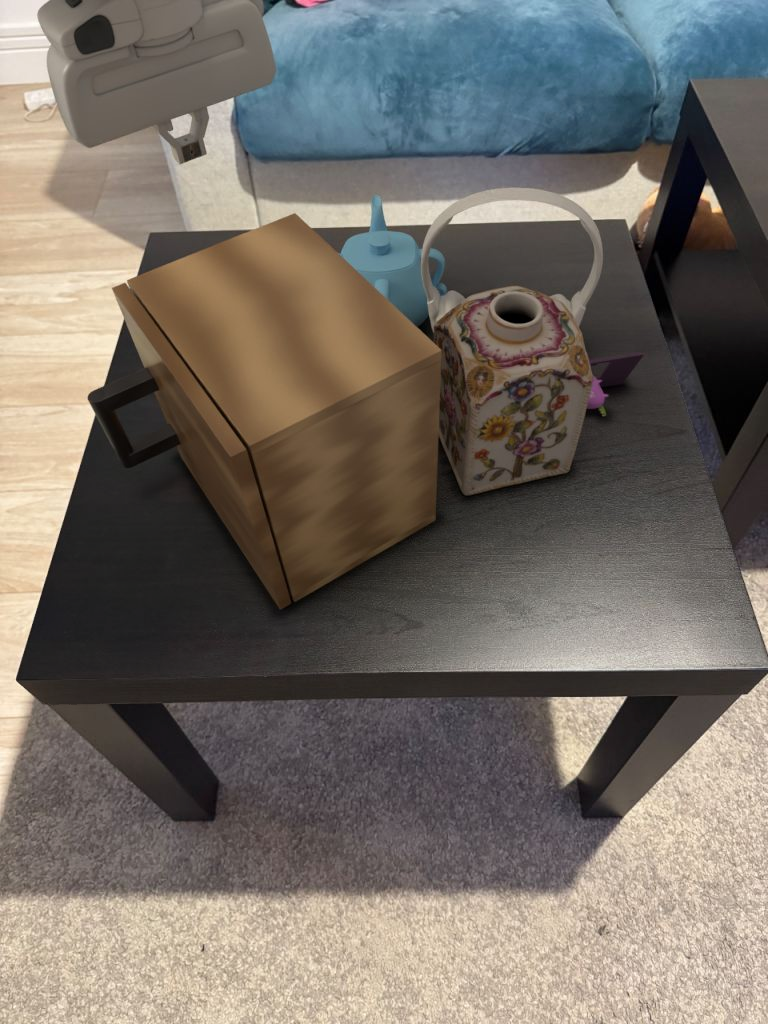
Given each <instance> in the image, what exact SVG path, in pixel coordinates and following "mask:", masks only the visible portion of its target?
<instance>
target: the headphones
mask: <svg viewBox="0 0 768 1024" xmlns="http://www.w3.org/2000/svg"><path fill="white" fill-rule="evenodd" d="M504 201H526V202H528V201H529V202H537V203H542V204H547V205H551V206H553V207H558V208H560V209H562V210H564V211H567V212H569V213H570V214H572V215H574V216H575V217H577V218H578V220H579V222H580V224H581V226H582V228H583V229H584V230H585V231H586V232H587V234H588V236H589V238H590V240H591V242H592V246H593V251H594V256H593V264H592V267H591V270H590V273H589V275H588V277H587V280H586V282H585V284H584V286H583V287H582V289H581V290H578V291H577V292H576V293H574V295H573V296H572V297H571V299H570V300H569V299H567V297H565V296H564V295H563V294H561V293H556V294H552V295H550V296H549V297H551V298H553V299H556V300H558V301H561V302H562V303H564V305H565V306H566V307H567V309H568V310H569V311H570V312H571V314H572V315H573V317H574V319H575V321H576V322H577V324H578V327H579V328H580V326H581V324H582V321H583V318H584V316H585V312H586V310H587V304H588V303H589V301H590V299H591V297H592V296H593V294H594V292H595V290H596V288H597V286H598V284H599V281H600V277H601V274H602V270H603V265H604V264H603V263H604V250H603V243H602V238H601V235H600V231H599V228H598V227H597V224H596V222H595V221H594V219H593V217H592V216H591V215H590V214H589V212H587V211H586V210H585V209H584V208H583V207H582V206H581V205H580V204H578V203H577V202H575V201H573V200H572V199H570V198H568V197H566V196H564V195H561V194H559V193H556V192H554V191H553V192H552V191H549V190H544V189H540V188H532V187H500V188H491V189H486V190H482V191H479V192H475V193H473V194H470V195H467V196H464V197H463V198H461V199H458V200H457V201H456V202H453V203H452V204H450V205H448V207H447V208H445V209H444V210H443V211H442V212H441V213H440V214H439V215H438V216H437V217H436V218H435V220H433V222H432V223H431V225H430V227H429V228H428V231H427V232H426V235H425V238H424V240H423V243H422V248H421V249H422V255H421V275H422V282H423V286H424V289H425V293H426V296H427V305H428V312H429V315H428V317H429V320H430V321H429V322H430V326H431V330H432V333H433V334H434V325H435V323H436V322H437V321H438V320H440V319H441V318H442V317H443V316H444V315H445V314H446V313H448V312H449V311H450V310H451V309H453V308H455V307H456V306H457V305H459V304H460V303H462V302H463V301H464V300H465V299H466V298H465V297H464V296H463V294H461V293H460V292H458V291H456V290H449V291H447V292H446V295H443V296H441V297H440V294H439V292H438V291H439V289H436V287H435V286H433V285H432V278H431V275H430V269H429V259H430V258H429V253H430V249H431V248H433V244H434V242H435V240H436V239H437V237H438V236H439V235H440V233H441V232H442V231H443V230H444V229H445V228H446V227H447V226H448V225H449V224H450V223H451V221H452V220H453V218H454V216H456V215H458V214H459V213H462V212H464V211H466V210H468V209H470V208H473V207H477V206H481V205H484V204H489V203H495V202H504Z"/></svg>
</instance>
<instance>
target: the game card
mask: <svg viewBox="0 0 768 1024" xmlns="http://www.w3.org/2000/svg"><path fill="white" fill-rule="evenodd" d="M644 356H645V355H644V351H638V352H632V353H631V352H630V353H624V354H618V355H613V356H606V357H599V358H593V359H590V364H591V367H594V366H597V365H598V364H605V363H608V364H607V365H606V367H605V368H604V369H603V371H602V373H601V374H600V375H599V377H598V379H597V377H596V376H595V375H593V378H594V381H593V386H592V389H591V393H590V396H589V400H588V405H587V408H586V410H587V409H588V410H595V409H598V411H599V414H601V417H606V416H607V413H606V412H607V411H606V409H605V407H604V406H603V405H604V403H605V401H606V398H608V397H609V394H608V393H604V391H603V389H602V388H607V387H611V386H618V385H622V384H624V383H625V381H626V380H627V379H628V377H629V376H630V374H631V373H632V372H633V371H634V369H635V368H636V367H637V365H638V364H639V362H640V361H641V360H642V359H643V357H644Z"/></svg>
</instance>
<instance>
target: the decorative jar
mask: <svg viewBox="0 0 768 1024" xmlns="http://www.w3.org/2000/svg"><path fill="white" fill-rule="evenodd" d="M432 342H433V343H434V344H435V345H437V346H438V347H439V348H440V349H441V350H442V355H441V381H440V409H439V436H438V439H439V441H440V443H441V445H442V448H443V450H444V452H445V455H446V457H447V460H448V462H449V465H450V467H451V469H452V471H453V473H454V477H455V479H456V481H457V484H458V487H459V489H460V491H461V493H462V494H463V495H464V496H473V495H476V494H480V493H481V494H482V493H485V492H489V491H492V490H493V491H494V490H496V489H501V488H504V487H509V486H514V485H519V484H523V483H528V482H531V481H535V480H540V479H544V478H548V477H554V476H558V475H563V474H567V473H568V472H570V470H571V466H572V463H573V460H574V457H575V453H576V450H577V446H578V442H579V440H580V437H581V432H582V428H583V424H584V420H585V418H586V412H587V405H588V400H589V396H590V393H591V389H592V386H593V381H594V378H593V376H594V375H593V373H592V366H591V364H590V360H591V358H590V355H589V354H588V352H587V350H586V346H585V340H584V337H583V333H582V331H581V329H580V326H579V327H578V324H577V322H576V321H575V319H574V317H573V315H572V314H571V312H570V311H569V310H568V309H567V307H566V306H565V305H564V303H562V302H561V301H558V300H556V299H553V298H551V297H550V296H549V295H547V294H544V293H542V292H540V291H538V290H532V289H530V288H527V287H523V286H520V285H510V286H504V287H498V288H493V289H492V288H491V289H487V290H485V291H481V292H478V293H474V294H471V295H469V296H468V297H466V298H465V300H464V301H463V302H462V303H460V304H459V305H457V306H456V307H455V308H453V309H451V310H450V311H449V312H448V313H446V314H445V315H444V316H443V317H442V318H441V319H440V320H438V321H437V322H436V323H435V325H434V333H433V340H432Z"/></svg>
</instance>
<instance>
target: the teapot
mask: <svg viewBox="0 0 768 1024" xmlns="http://www.w3.org/2000/svg"><path fill="white" fill-rule="evenodd" d="M370 207H371V214H370V215H371V217H370V225H369V230H368V232H363V233H358V234H355V235H352V236H351V237H349V238H348V239H347V240H346V242H344V245H343V247H342V249H341V252H340V253H339V252H337V253H338V254H339V255H340V256H342V257H343V258H344V259H345V260H346V261H347V262H348V263H349V264H350V265H351V266H352V267H353V268H354V269H355V270H357V271H358V272H359V273H360V274H361V275H362V276H363V277H364V278H365V279H366V280H367V281H368V282H369V283H370V284H371V285H373V286H374V287H375V288H376V289H377V290H378V291H379V292H380V293H381V294H382V295H383V296H384V297H385V298H386V299H387V300H389V301H390V302H391V303H392V304H393V305H394V306H395V307H396V308H397V309H398V310H399V311H400V312H401V313H402V314H403V315H405V316H406V317H407V318H408V319H409V320H410V321H411V322H412V323H413V324H414V325H415V326H416V327H417V328H419V327H420V326H421V325H422V324H423V323H424V322H425V320H426V319H427V318H428V317H429V312H428V305H427V296H426V293H425V289H424V286H423V282H422V275H421V255H422V248H420V247H419V245H418V243H417V242H416V241H415V239H414V238H413V237H412V235H410V234H408V233H405V232H401V231H393V230H388V227H387V223H386V220H385V216H384V215H385V214H384V209H383V202H382V199H381V197H380V196H379V195H378V194H374V195H373V196H372V197H371V201H370ZM429 259H433V260H435V261H437V268H436V270H435V273H434V275H433V277H432V278H431V281H432V285H433V286H435V287H436V289H437V290H438V292H439V294H440V297H441V296H443V295H446V293H447V292H448V290H447V289H448V288H447V286H446V285H445V284H444V283H443V282H440V281H441V279H442V277H443V274H444V272H445V268H446V260H445V257H444V255H443V254H442V252H440V251H439V250H438V249H436V248H434V247H431V249H430V253H429Z"/></svg>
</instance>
